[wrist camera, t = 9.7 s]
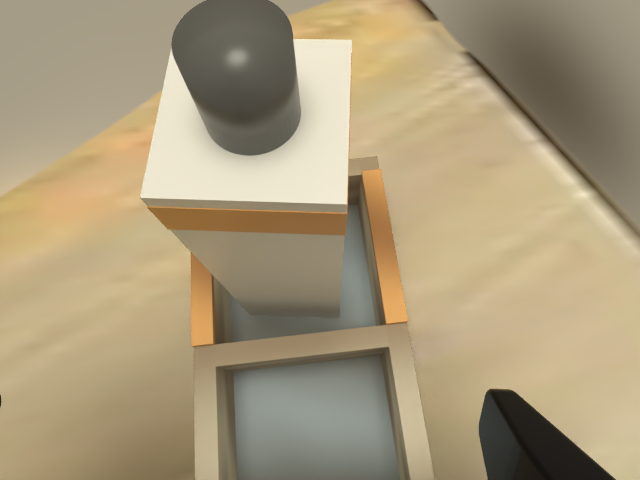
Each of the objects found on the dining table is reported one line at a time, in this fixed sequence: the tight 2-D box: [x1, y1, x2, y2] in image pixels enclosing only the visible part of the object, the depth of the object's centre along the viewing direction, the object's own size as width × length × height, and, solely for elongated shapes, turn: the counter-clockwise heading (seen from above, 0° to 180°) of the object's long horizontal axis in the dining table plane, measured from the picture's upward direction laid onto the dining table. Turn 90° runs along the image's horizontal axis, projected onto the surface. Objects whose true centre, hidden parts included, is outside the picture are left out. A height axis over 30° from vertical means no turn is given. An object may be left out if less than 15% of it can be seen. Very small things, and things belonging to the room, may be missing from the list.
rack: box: [191, 156, 435, 480], centre depth 18 cm, size 16×9×4 cm, turn 6°
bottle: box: [140, 0, 352, 318], centre depth 14 cm, size 4×4×14 cm
